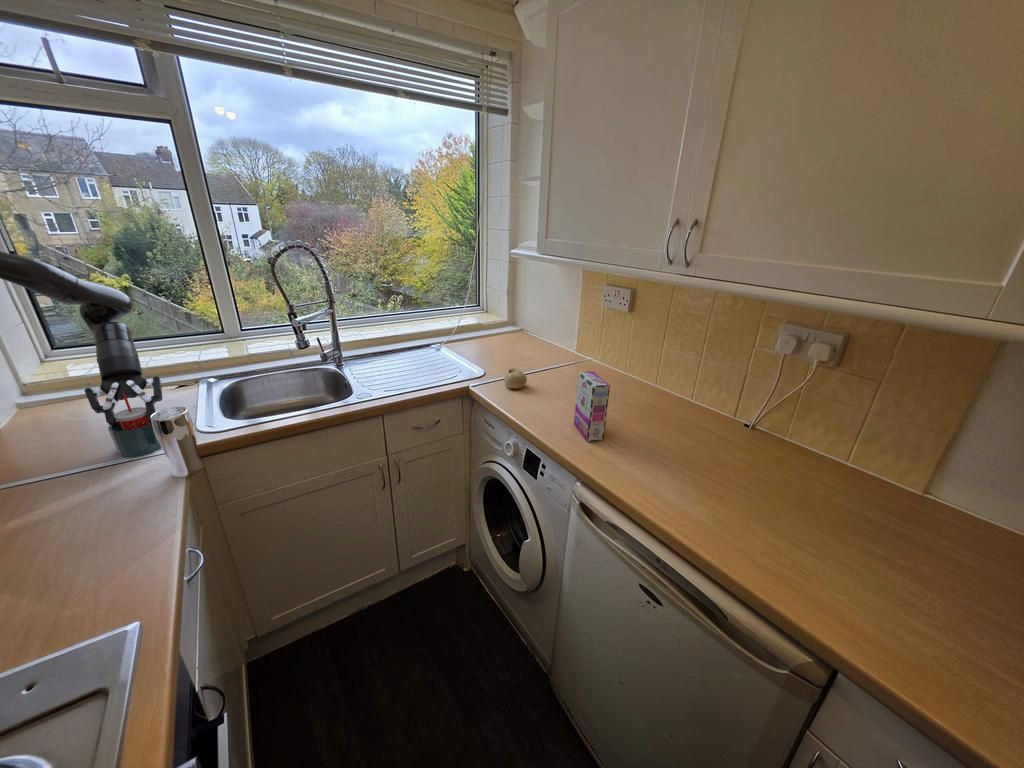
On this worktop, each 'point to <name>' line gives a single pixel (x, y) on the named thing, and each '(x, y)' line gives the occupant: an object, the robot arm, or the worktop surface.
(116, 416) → the beverage cup
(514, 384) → the onion
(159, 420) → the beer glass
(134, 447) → the teal round pot
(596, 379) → the candy bar box
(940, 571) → the worktop surface
